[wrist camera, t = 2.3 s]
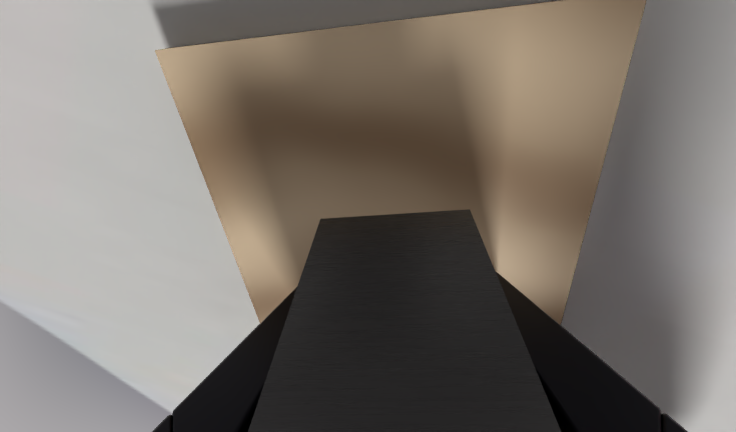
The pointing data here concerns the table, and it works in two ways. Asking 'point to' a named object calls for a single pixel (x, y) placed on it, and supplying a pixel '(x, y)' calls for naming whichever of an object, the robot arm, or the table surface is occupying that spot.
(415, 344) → the shaft
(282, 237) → the base plate
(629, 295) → the table surface
